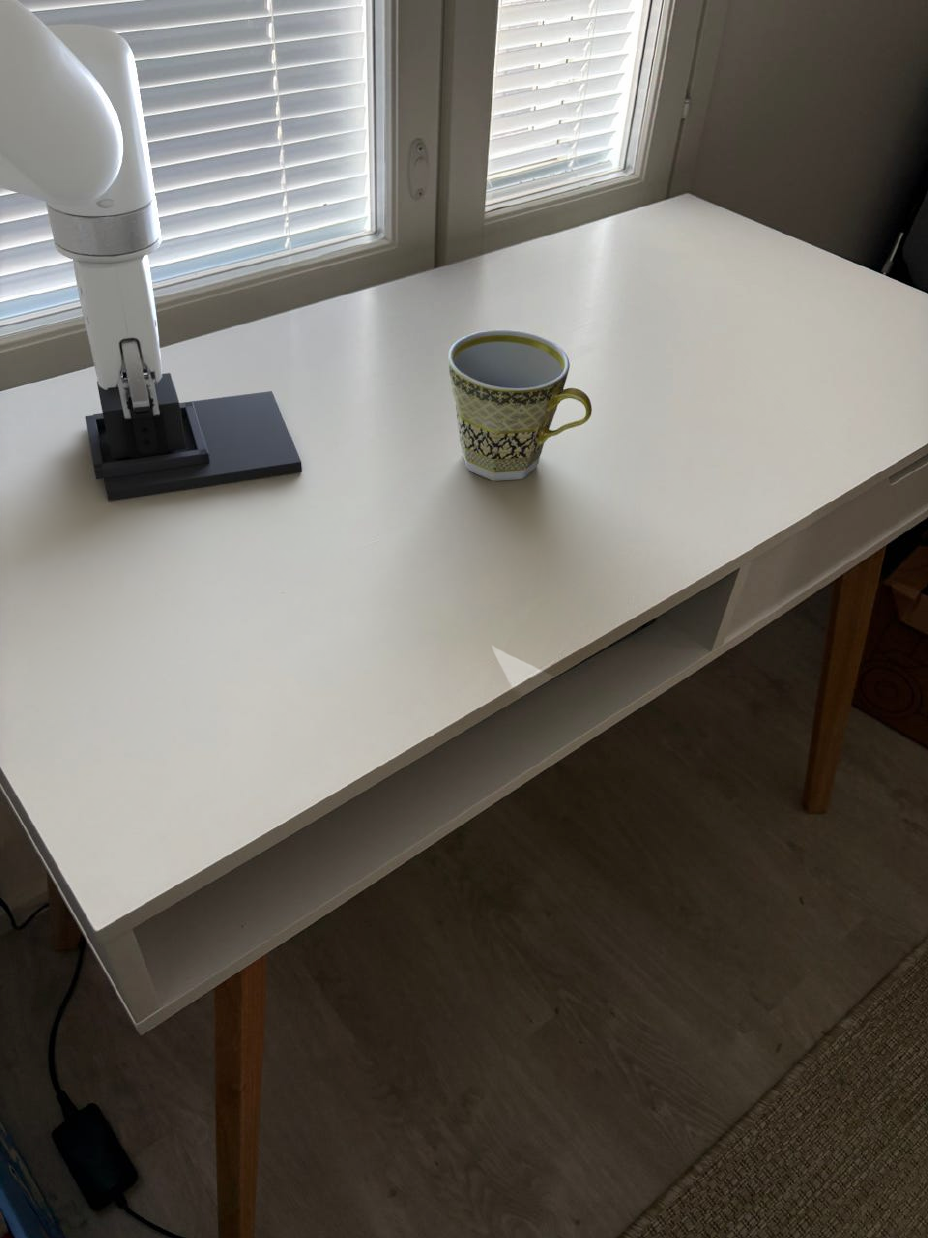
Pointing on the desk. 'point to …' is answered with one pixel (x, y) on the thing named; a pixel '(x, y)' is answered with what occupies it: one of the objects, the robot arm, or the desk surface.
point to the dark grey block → (165, 403)
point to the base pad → (203, 449)
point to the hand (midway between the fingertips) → (144, 434)
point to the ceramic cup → (508, 399)
